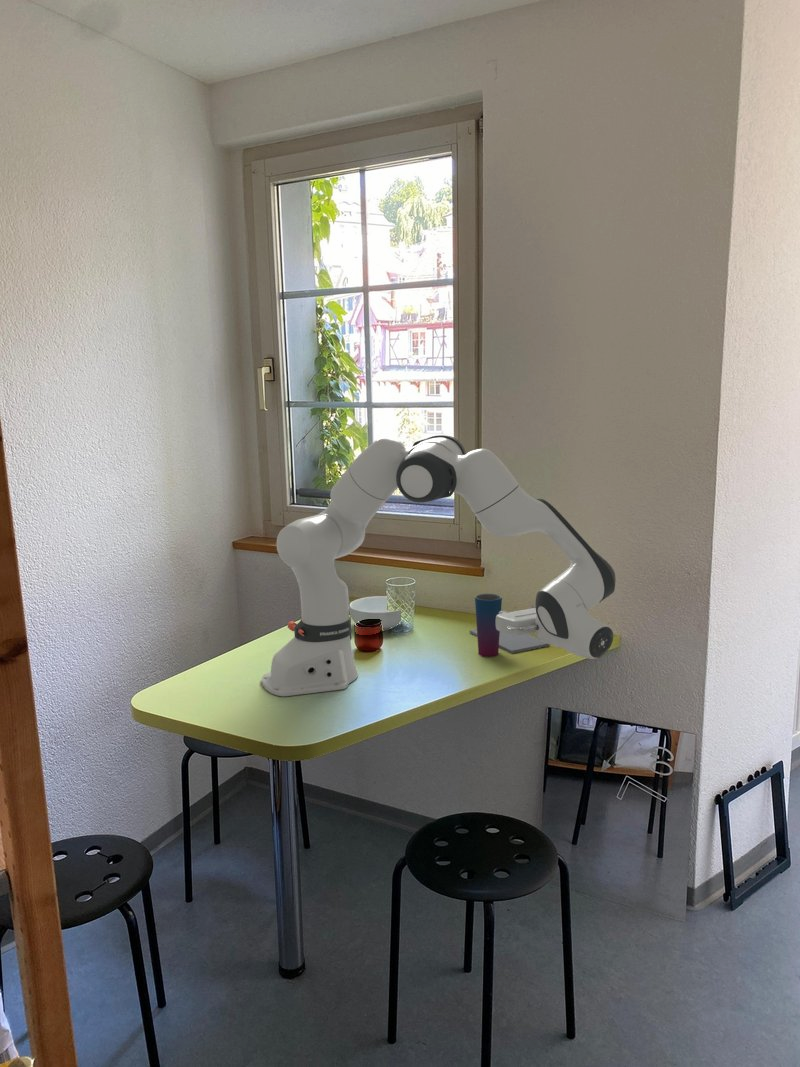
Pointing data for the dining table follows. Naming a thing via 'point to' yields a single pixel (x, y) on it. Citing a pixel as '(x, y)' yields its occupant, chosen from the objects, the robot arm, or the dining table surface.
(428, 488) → the robot arm
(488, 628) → the cup
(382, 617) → the cereal bowl
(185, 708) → the dining table surface
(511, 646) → the mat
